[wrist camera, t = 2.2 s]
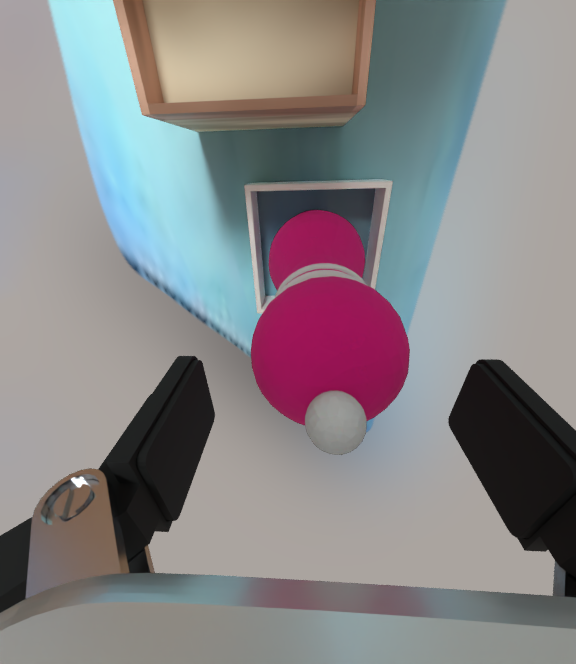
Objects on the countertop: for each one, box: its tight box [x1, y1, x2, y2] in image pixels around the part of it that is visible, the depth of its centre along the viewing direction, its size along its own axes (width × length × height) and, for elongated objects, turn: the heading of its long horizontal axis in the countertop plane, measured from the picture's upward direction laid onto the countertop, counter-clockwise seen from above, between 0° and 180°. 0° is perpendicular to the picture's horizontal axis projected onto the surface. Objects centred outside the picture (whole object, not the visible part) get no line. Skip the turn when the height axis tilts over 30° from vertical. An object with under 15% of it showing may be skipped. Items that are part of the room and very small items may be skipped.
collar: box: [244, 179, 393, 313], centre depth 22 cm, size 10×10×3 cm
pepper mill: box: [251, 210, 410, 455], centre depth 15 cm, size 7×7×20 cm
